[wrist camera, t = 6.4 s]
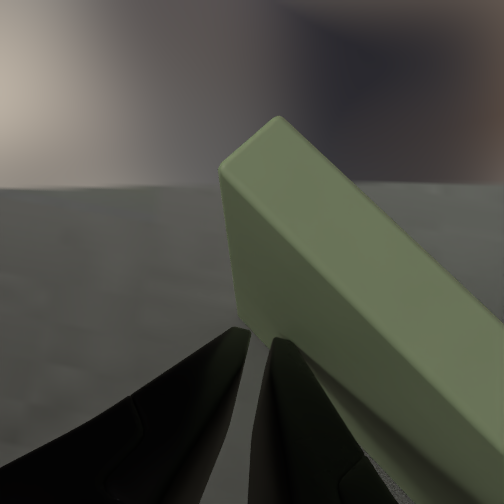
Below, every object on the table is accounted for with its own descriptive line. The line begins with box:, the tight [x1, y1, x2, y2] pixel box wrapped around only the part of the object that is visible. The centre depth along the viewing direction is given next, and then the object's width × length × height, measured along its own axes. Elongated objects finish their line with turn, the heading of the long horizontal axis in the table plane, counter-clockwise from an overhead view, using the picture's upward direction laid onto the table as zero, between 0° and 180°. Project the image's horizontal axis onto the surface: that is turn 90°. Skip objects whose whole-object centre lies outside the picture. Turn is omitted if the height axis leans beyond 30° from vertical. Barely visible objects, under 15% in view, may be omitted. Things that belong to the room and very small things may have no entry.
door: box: [218, 116, 504, 504], centre depth 9 cm, size 11×1×13 cm, turn 44°
